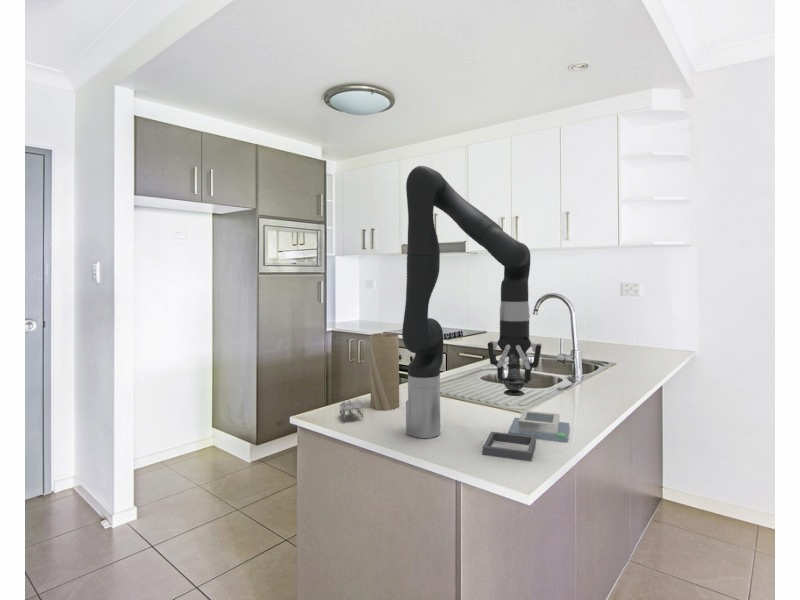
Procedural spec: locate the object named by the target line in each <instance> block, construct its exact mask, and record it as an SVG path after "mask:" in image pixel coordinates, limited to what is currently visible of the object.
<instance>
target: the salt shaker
mask: <svg viewBox="0 0 800 600" xmlns="http://www.w3.org/2000/svg"><path fill="white" fill-rule="evenodd" d="M520 359H521V357H520V358H518V356H517V355H516V354H511V355H510V357H508V364H507V367H508V368H507V369H508V370H507V372H508V374H507V376H506V377H504V379H503V385H504V387H505V389H507V390H505V391H503V394H504V395H506V396H509V397H521V396H524V395H525V392H523V391H522V389H523V387H524V385H525V378H522V376H521V367H522V365H521V364H520V363H521V362H520Z"/></svg>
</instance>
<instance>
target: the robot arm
mask: <svg viewBox="0 0 800 600" xmlns="http://www.w3.org/2000/svg"><path fill="white" fill-rule="evenodd" d="M405 188H406V189H405V190H406V191H405V192H406V202H407V217H408V218H407V219H408V221H407V246H406V247H407V250H406V287H405V289H406V290H405V304H404V305H405V307H404V312H403V322H402V333H401V334H402V336H401V337H402V342H403V345H404V346H405V349H407V350H408V352H411V353H413V354H414V357H413V359H412V360H411V361H410V363H408V366H407V393H408V394H407V399H408V400H406V402H405V434H406V435H409V436H412V437H414V438H418V439H419V438H420V439H431V438H436V437H437V436H439V435H440V434H441V368H442V365H443V358H444V331H443V328H442V325H441V324H440V323H439V321H438V320H437V319H435V318H431V317H429V305H430V304H429V303H430V299H431V296H432V293H433V292H434V290H435V286H436V285H437V281H438V279H439V275H440V263H441V262H440V261H441V257H440V256H441V251H440V250H441V249H440V243H439V239H438V234H437V230H436V226H435V222H434V207H435V208H437V209H439V211H442V212H443V213H445V214H446V215H447V216H449V218H451V220H452V221H454V223H456V225H457V226H458V227H459V228H460V229H461V230H462V231H463V232H464V233H465V234H466V235H467V236H468V237H470V238H471V239H472V240H473V241H474V242H476V243H477V244H478V245H479V246H481V247H482V248H483V249H485V250H486V251H487V252H488V254H490V255H491V256H492V257H493V258H494V259H495V261H497V262H498V263H499V264H500V265H502V266H503V267H504V268H503V280H502V281H501V285H500V307H499V339H498V341H492V340H491V341H489V342H487V351H488V356H489V358H488V359H489V363H490V365H492V366H495V367H496V370H497V371H496V372H497V375H496V376H497V379H498V380H499V382H503V383H504V381H503V379H504V378H505V373H504V371H505V370H504V369H505V367H504V364H505V361H506V359H507V358H509V357H510V355H511V354H516V355H517V356H518V358H520V359H521V361H522V363H523V365H524V367H525V369H524V380H525V382H524V384H526V385H528V383H529V382H531V380H532V369H534V368H535V369H536V368H538V366H539V364H540V358H541V352H542V344H541V343H535V342H534V343H533V342H531V339H530V315H531V314H530V306H529V305H530V303H529V277H530V272H531V271H530V270H531V252H530V249H529V247H528V246H527V245H526V244H525V243H523V242H520V241H518V240H516V239H515V238H513V237H512V236H511V235H509V234H508V233H506V232H505V231H504V230H503V228H502V227H501V226H500V225H499V224H498V223H497V222H495V221H494V220H493V219H491V217H489V216H488V215H487V214H485V213H484V212H482V211H481V210H479V209H478V208H477V207H476V206H474V205H472V204H471V203H470V202H468V200H466V199H465V198H463V197H462V196H461V195H460V194H459V193H458V192H457V191H456V190H455V189H454V188H453V187H452V186H451V185H450V184H449V182H448V181H447V180H446V179H445V178H444V177H443V175H442V174H441V173H440V172H439V171H437V170H435V169H433V168H431V167H429V166H426V165H417V166H415V167H414V168H413V169H411V171H410V172H409V174H408V176H407V178H406V183H405ZM497 348H500V349H501V351H502V353H501V356H500V357H499V360H498V359H497V356H496V350H497ZM530 348H532V349H531V350H532V352H534V355H533V356H534V357H533V360H532V361H533V362H531V361H530V359H529V356H528V354H527V351H528V350H529V349H530Z"/></svg>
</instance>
